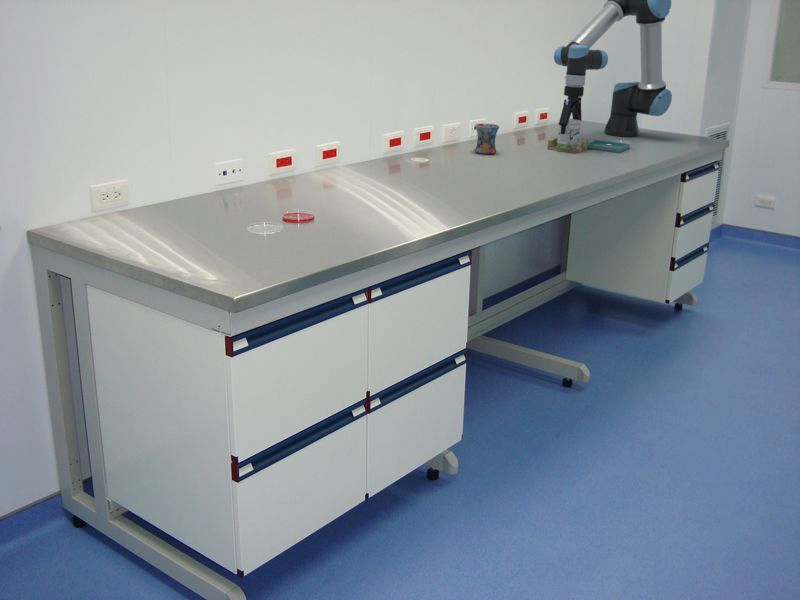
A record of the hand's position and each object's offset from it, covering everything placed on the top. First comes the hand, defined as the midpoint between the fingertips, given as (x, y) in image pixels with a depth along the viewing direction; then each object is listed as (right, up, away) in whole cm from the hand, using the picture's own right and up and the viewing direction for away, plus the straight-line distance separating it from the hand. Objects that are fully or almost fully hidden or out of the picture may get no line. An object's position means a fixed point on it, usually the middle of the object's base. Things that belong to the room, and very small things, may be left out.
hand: (568, 140), depth 341 cm
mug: (-34, -8, -13) cm, 37 cm away
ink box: (0, -4, +1) cm, 4 cm away
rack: (0, -3, +1) cm, 4 cm away
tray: (+17, -2, +7) cm, 19 cm away
